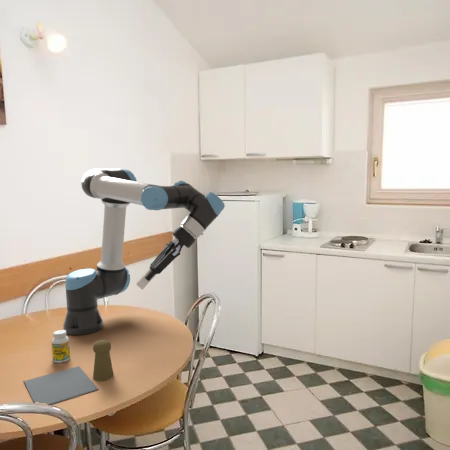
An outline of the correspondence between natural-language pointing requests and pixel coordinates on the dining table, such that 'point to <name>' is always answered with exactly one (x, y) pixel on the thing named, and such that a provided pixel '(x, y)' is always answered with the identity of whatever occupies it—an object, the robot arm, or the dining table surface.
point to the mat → (60, 386)
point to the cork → (102, 361)
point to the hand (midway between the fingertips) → (139, 286)
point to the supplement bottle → (60, 347)
